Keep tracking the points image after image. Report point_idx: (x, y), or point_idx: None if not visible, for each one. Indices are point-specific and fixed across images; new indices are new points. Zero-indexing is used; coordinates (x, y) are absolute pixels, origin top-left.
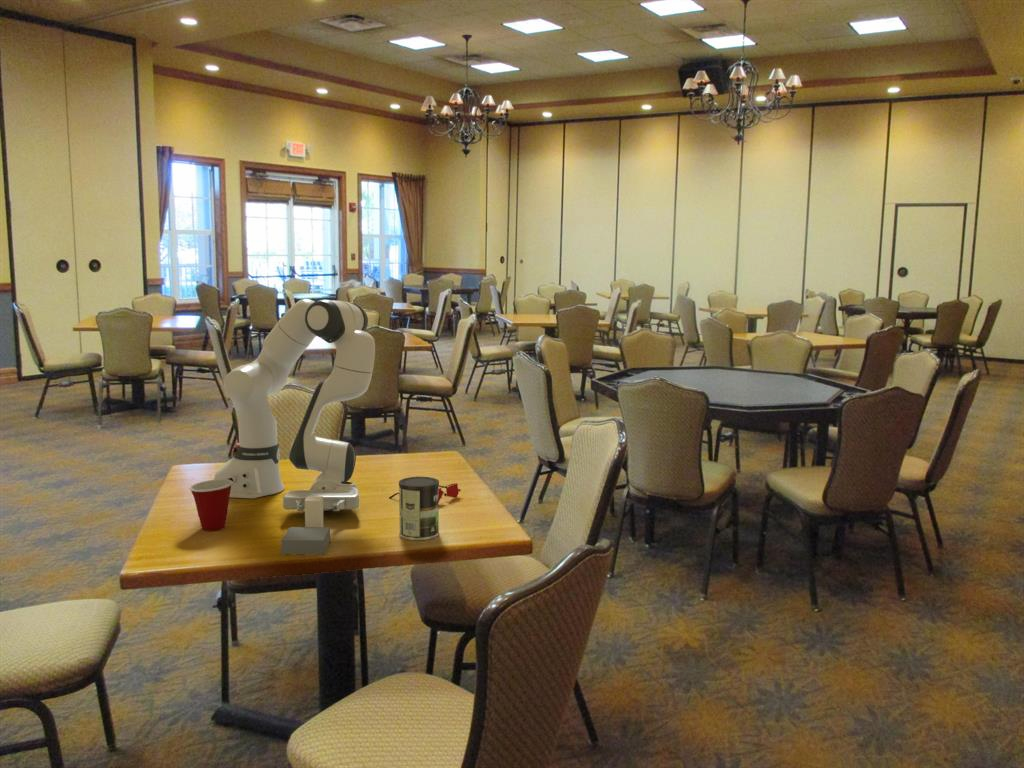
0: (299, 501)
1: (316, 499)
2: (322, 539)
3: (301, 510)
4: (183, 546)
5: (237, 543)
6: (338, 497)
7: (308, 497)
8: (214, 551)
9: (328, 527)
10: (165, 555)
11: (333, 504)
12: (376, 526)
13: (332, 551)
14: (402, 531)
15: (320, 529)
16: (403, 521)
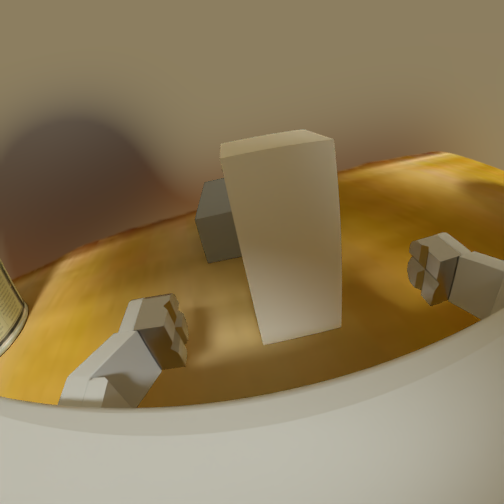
0: (502, 281)
1: (248, 141)
2: (207, 183)
3: (412, 269)
4: (500, 187)
5: (445, 205)
6: (97, 408)
7: (313, 137)
8: (439, 183)
9: (200, 217)
10: (478, 171)
11: (168, 297)
12: (40, 398)
13: (195, 226)
14: (19, 297)
15: (223, 204)
16: (5, 269)
